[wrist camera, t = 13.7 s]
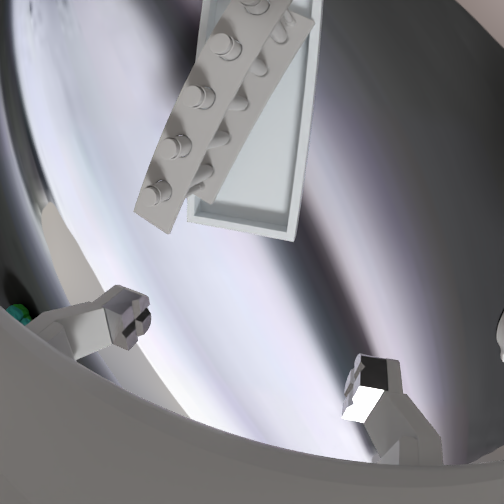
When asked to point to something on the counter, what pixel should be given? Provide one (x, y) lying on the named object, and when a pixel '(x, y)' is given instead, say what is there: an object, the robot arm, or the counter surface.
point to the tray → (268, 143)
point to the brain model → (19, 313)
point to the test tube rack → (220, 105)
